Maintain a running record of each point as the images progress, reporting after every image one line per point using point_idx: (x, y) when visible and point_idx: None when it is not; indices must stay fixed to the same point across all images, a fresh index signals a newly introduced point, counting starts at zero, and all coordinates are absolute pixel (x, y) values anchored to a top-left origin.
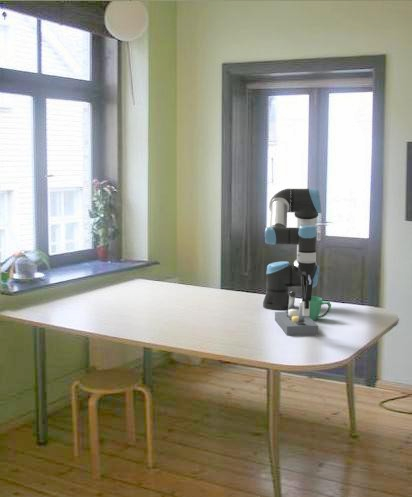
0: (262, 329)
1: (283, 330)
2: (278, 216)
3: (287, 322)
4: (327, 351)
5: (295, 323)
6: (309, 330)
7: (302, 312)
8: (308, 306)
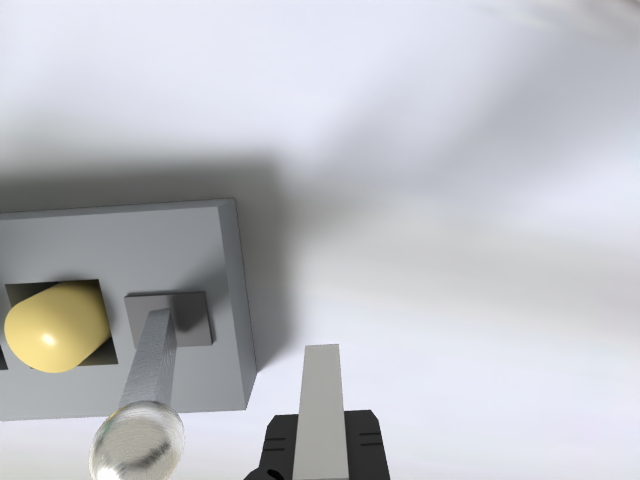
0: None
1: None
2: None
3: None
4: (617, 213)
5: None
6: (235, 259)
7: (167, 370)
8: (381, 436)
